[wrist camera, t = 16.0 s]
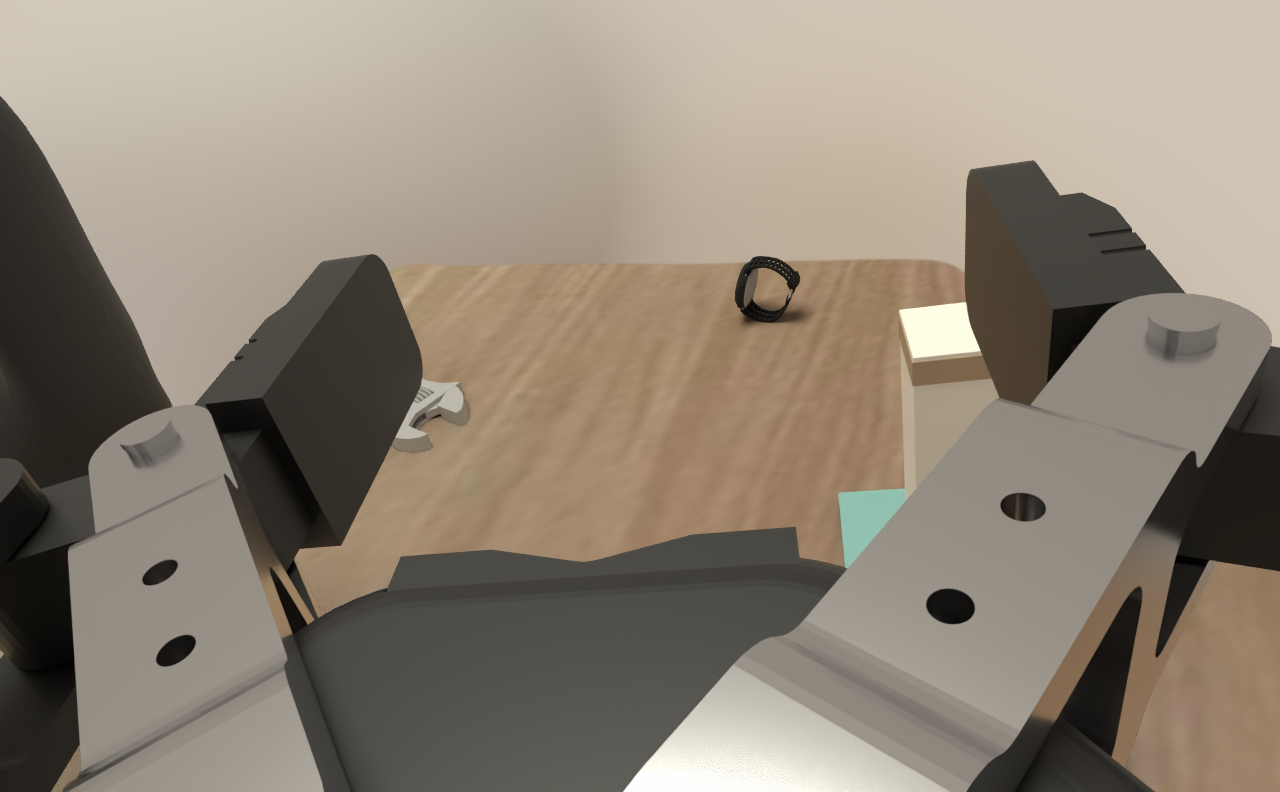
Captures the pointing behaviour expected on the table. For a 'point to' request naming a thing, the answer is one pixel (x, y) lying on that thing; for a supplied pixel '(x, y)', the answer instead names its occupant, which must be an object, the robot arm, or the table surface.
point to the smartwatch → (748, 285)
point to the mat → (865, 517)
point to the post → (938, 385)
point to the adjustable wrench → (430, 413)
